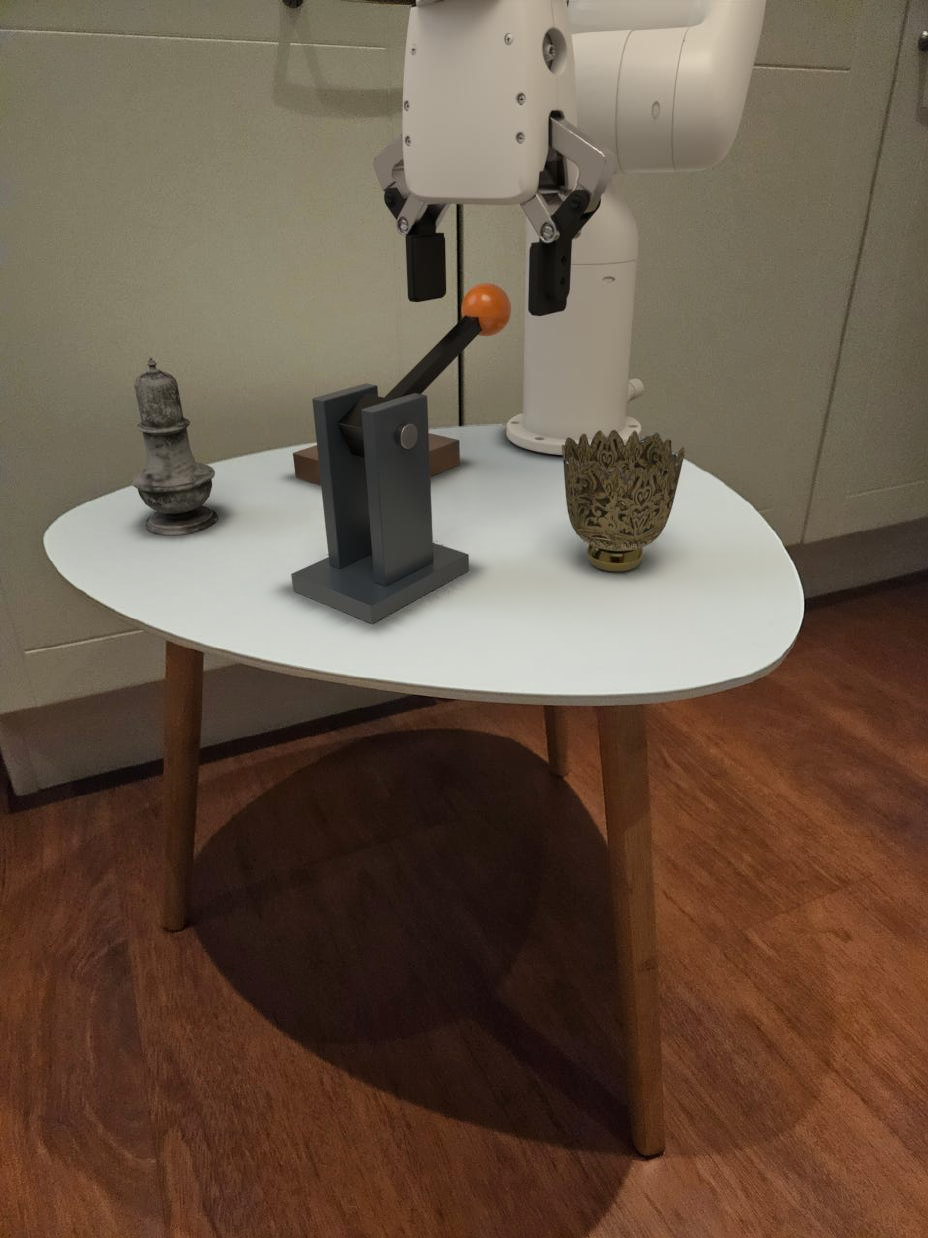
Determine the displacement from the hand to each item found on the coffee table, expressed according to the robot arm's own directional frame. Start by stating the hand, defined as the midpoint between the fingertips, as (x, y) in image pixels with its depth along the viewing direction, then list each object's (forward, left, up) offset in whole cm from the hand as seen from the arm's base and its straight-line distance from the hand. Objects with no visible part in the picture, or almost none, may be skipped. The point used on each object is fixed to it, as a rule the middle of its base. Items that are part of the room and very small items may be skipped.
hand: (484, 305), depth 54 cm
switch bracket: (+11, 0, -15) cm, 19 cm away
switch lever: (+4, 0, -4) cm, 6 cm away
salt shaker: (+13, -19, -16) cm, 28 cm away
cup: (-1, +10, -16) cm, 19 cm away
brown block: (-4, -15, -15) cm, 22 cm away
